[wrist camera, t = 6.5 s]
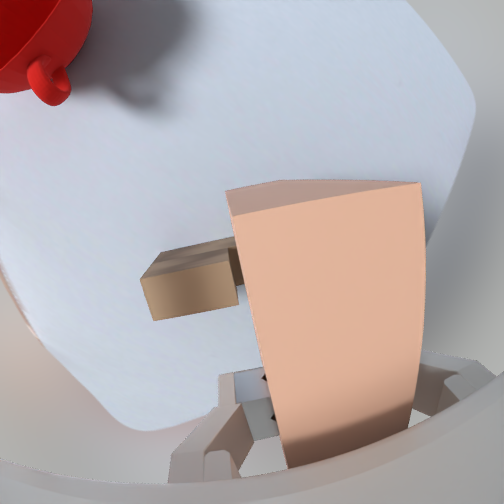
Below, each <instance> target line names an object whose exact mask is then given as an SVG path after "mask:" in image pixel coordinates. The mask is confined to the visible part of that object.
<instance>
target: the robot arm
mask: <svg viewBox="0 0 504 504" xmlns="http://www.w3.org/2000/svg"><path fill="white" fill-rule="evenodd" d="M412 408H413V409H415V410H417V411H419V412H422V413H424V414H426V415H428V416H431V417H430V418H428V419H426V420H424V421H422V422H420V423H418V424H416V425H414V426H412V427H410V428H407V429H405V430H403V431H401V432H399V433H396V434H394V435H392V436H389V437H387V438H385V439H382V440H380V441H377V442H375V443H372V444H370V445H367V446H364V447H362V448H359V449H356V450H353V451H350V452H347V453H344V454H341V455H338V456H335V457H332V458H328V459H325V460H322V461H318V462H315V463H311V464H307V465H303V466H299V467H295V468H291V469H286V470H282V471H277V472H272V473H267V474H261V475H256V476H249V477H243V478H241V476H240V474H239V472H238V471H239V469H240V467H241V465H242V464H243V462H244V460H245V458H246V456H247V455H248V452H249V451H250V449H251V447H252V445H253V443H254V441H256V440H261V439H265V438H270V437H274V436H278V435H280V434H279V430H278V426H277V421H276V417H275V413H274V408H273V404H272V400H271V395H270V391H269V387H268V383H267V379H266V374H265V370H264V367H259V368H254V369H249V370H243V371H238V372H234V373H233V372H232V373H227V374H221V375H219V376H218V407H214V408H213V409H212V410H211V411H210V412H209V413H208V415H207V416H206V417H205V418H204V419H203V420H202V421H201V422H200V424H199V425H198V426H197V427H196V428H195V429H194V430H193V431H192V432H191V433H190V435H189V436H188V437H187V438H186V439H185V440H184V441H183V442H182V443H181V444H180V445H179V446H178V447H177V449H176V450H175V451H174V452H173V453H172V454H171V461H170V469H169V477H168V484H152V483H151V484H150V483H125V482H112V481H102V480H93V479H86V478H79V477H73V476H67V475H61V474H56V473H52V472H47V471H43V470H39V469H34V468H31V467H27V466H23V465H19V464H16V463H13V462H10V461H7V460H4V459H1V458H0V504H504V372H502V373H501V374H500V375H498V376H497V377H496V376H495V375H494V374H493V373H491V372H490V371H489V370H488V369H487V368H485V367H484V366H483V365H482V364H481V363H479V362H478V361H477V360H471V359H466V358H460V357H455V356H450V355H445V354H441V353H436V352H431V351H426V350H422V349H421V356H420V363H419V371H418V377H417V383H416V389H415V395H414V400H413V405H412Z"/></svg>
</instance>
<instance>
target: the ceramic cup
mask: <svg viewBox="0 0 504 504" xmlns="http://www.w3.org/2000/svg"><path fill="white" fill-rule="evenodd" d="M92 12H93V7H92V0H0V93H16V92H20V91H24V90H29V89H32V90H33V91H34V93H35V94H36V95H37V96H38V97H39V98H40V99H41V100H42V101H43V102H44V103H46V104H48V105H50V106H57V105H60V104H61V103H62V102H64V101H65V100H66V99H67V98H68V96H69V95H70V92H71V85H70V81H69V78H68V75H67V73H66V70H65V68H66V67H67V66H68V65H69V64H70V63H71V62H72V61H73V60H74V58H75V57H76V56H77V54H78V52H79V51H80V49H81V48H82V46H83V44H84V42H85V40H86V38H87V35H88V32H89V29H90V26H91V20H92ZM50 79H52V80H53V82H52V81H51V80H50Z"/></svg>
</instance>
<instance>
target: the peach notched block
mask: <svg viewBox="0 0 504 504" xmlns="http://www.w3.org/2000/svg"><path fill="white" fill-rule="evenodd" d="M225 194H226V198H227V203H228V208H229V213H230V218H231V222H232V227H233V232H234V237H235V241H236V246H237V251H238V256H239V260H240V265H241V269H242V274H243V278H244V282H245V287H246V292H247V296H248V301H249V305H250V310H251V314H252V319H253V323H254V329H255V333H256V338H257V342H258V347H259V351H260V355H261V360H262V364H263V367H264V370H265V374H266V379H267V383H268V387H269V391H270V395H271V400H272V404H273V408H274V413H275V417H276V421H277V426H278V430H279V434H280V435H279V436H280V440H281V444H282V448H283V452H284V457H285V461H286V465H287V469H291V468H295V467H299V466H303V465H307V464H311V463H315V462H318V461H322V460H325V459H328V458H332V457H335V456H338V455H341V454H344V453H347V452H350V451H353V450H356V449H359V448H362V447H364V446H367V445H370V444H372V443H375V442H377V441H380V440H382V439H385V438H387V437H389V436H392V435H394V434H396V433H399V432H401V431H403V430H405V429H407V428H408V424H409V420H410V415H411V410H412V405H413V400H414V395H415V389H416V383H417V377H418V371H419V363H420V356H421V347H422V337H423V326H424V311H425V287H426V254H425V253H426V249H425V226H424V211H423V200H422V190H421V183H417V182H399V181H375V180H278V181H272V182H267V183H262V184H256V185H251V186H246V187H241V188H236V189H232V190H227V191H225Z"/></svg>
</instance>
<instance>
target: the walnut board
mask: <svg viewBox="0 0 504 504" xmlns="http://www.w3.org/2000/svg"><path fill="white" fill-rule="evenodd" d="M140 282H141V285H142V288H143V291H144V294H145V297H146V301H147V304H148V307H149V309H150V312H151V315H152V318H153V321H157V320H163V319H169V318H174V317H180V316H185V315H190V314H195V313H201V312H206V311H211V310H216V309H221V308H226V307H231V306H235V305H239V302H238V295H237V287H236V286H238V285H242V284H245V282H244V278H243V274H242V269H241V265H240V260H239V256H238V251H237V246H236V241H235V237H229V238H225V239H220V240H215V241H211V242H206V243H201V244H197V245H192V246H188V247H183V248H179V249H174V250H170V251H165V252H161V253H160V254H159V255H158V257H157V258H156V259H155V260H154V262H153V263H152V264H151V266H150V267H149V268H148V269H147V271H146V272H145V273H144V274H143V276H142V277H141V278H140Z"/></svg>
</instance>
